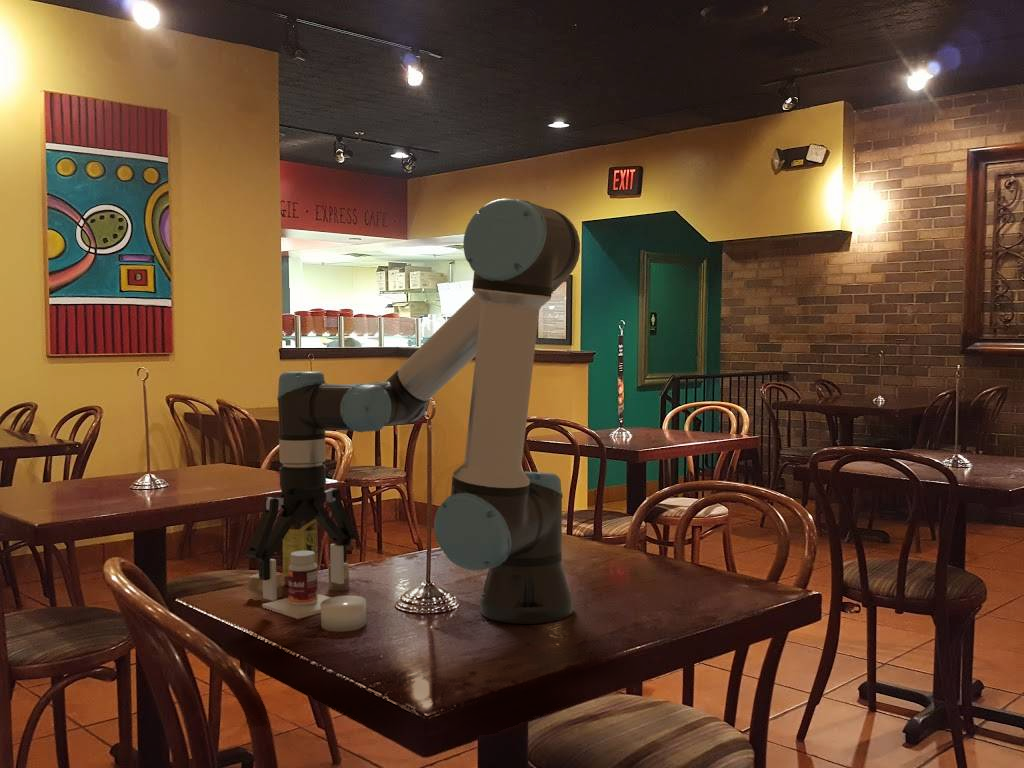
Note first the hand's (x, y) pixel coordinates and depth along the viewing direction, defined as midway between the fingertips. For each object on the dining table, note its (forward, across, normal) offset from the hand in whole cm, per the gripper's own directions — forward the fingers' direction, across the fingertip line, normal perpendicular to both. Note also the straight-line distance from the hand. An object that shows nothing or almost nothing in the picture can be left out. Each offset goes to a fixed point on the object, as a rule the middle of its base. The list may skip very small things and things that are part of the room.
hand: (304, 590), depth 158 cm
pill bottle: (+2, 0, 0) cm, 2 cm away
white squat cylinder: (+3, +2, +13) cm, 13 cm away
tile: (+3, 0, 0) cm, 3 cm away
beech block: (+3, +1, -10) cm, 10 cm away
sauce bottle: (+3, -9, -13) cm, 16 cm away
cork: (+3, -11, -5) cm, 12 cm away
